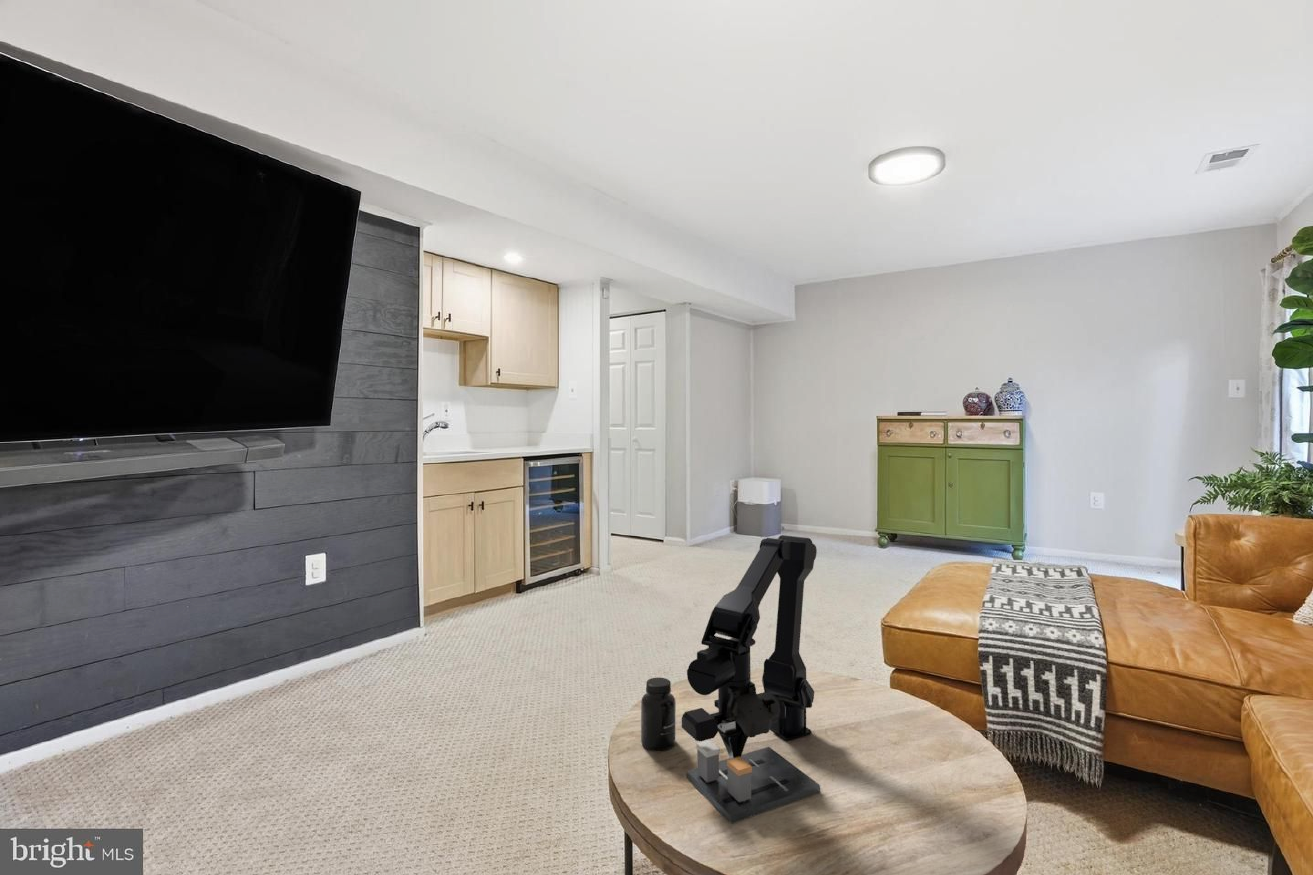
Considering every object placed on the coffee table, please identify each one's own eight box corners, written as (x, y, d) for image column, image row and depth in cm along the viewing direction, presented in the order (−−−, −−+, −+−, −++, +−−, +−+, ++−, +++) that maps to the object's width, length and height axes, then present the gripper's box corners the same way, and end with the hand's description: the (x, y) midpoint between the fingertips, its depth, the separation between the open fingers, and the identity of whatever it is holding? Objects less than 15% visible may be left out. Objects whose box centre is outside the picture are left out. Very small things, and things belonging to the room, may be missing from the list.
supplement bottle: (672, 753, 113) (672, 690, 113) (637, 749, 114) (637, 687, 114) (678, 735, 119) (678, 676, 119) (645, 732, 121) (645, 673, 121)
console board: (768, 752, 113) (768, 745, 113) (820, 792, 100) (820, 784, 100) (686, 777, 105) (686, 770, 105) (731, 823, 92) (730, 815, 92)
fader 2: (740, 787, 99) (739, 756, 99) (752, 798, 96) (751, 766, 96) (726, 791, 98) (726, 760, 98) (738, 802, 95) (738, 770, 95)
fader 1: (709, 768, 105) (709, 739, 105) (719, 778, 102) (719, 748, 102) (696, 772, 103) (696, 742, 103) (706, 782, 100) (706, 752, 100)
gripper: (713, 704, 94) (714, 802, 94) (805, 681, 102) (806, 771, 102) (679, 678, 104) (680, 767, 104) (766, 659, 112) (767, 742, 112)
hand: (735, 762), depth 105 cm, fingers closed
